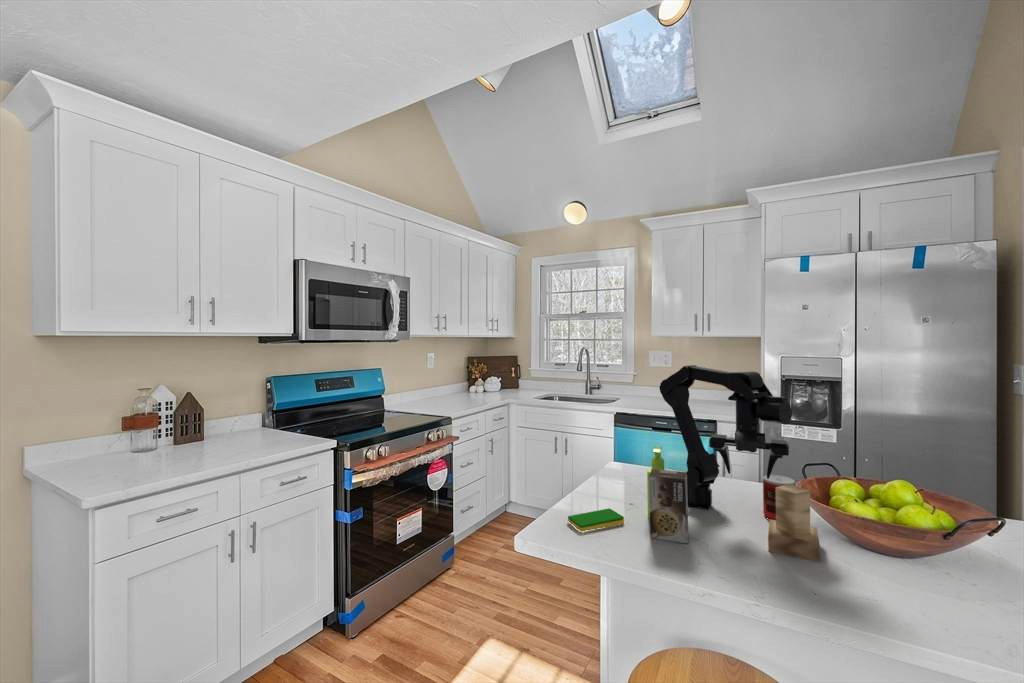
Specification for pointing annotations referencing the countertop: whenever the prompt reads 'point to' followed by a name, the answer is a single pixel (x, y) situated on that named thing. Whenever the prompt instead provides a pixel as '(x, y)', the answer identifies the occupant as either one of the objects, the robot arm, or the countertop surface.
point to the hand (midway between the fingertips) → (748, 475)
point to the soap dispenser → (655, 467)
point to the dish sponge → (596, 519)
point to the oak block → (793, 510)
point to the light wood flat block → (794, 543)
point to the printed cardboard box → (668, 505)
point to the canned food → (772, 493)
